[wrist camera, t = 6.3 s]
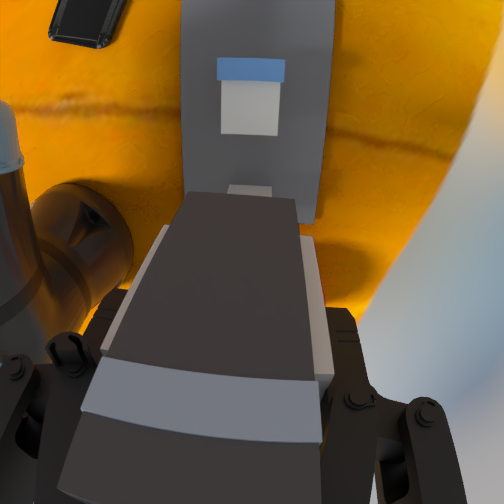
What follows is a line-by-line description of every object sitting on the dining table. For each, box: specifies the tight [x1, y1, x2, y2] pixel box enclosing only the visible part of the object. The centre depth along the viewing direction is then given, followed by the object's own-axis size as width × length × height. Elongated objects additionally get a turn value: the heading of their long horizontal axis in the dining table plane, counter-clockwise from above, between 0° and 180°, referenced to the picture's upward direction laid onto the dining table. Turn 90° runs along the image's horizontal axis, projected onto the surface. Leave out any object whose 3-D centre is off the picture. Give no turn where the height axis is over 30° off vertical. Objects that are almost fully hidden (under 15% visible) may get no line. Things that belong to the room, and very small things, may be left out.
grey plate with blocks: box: [180, 0, 335, 224], centre depth 23 cm, size 13×26×8 cm, turn 178°
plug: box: [57, 191, 322, 504], centre depth 10 cm, size 5×5×12 cm
